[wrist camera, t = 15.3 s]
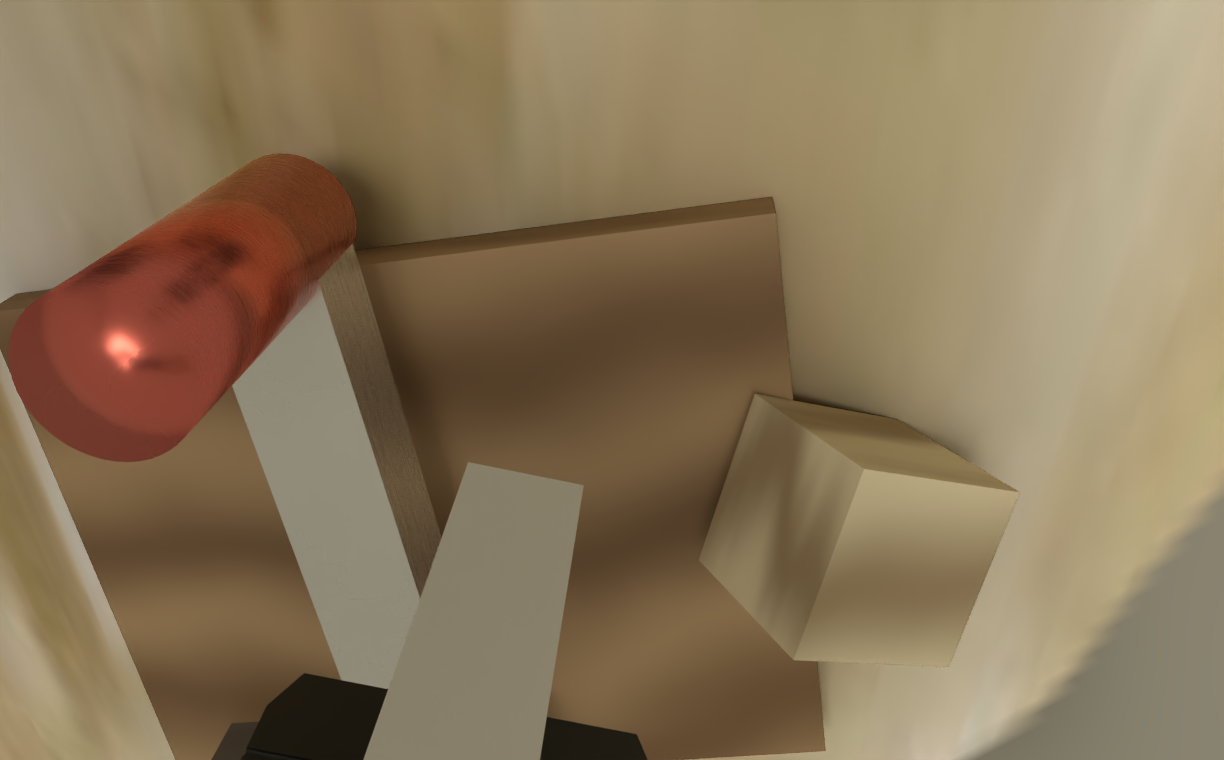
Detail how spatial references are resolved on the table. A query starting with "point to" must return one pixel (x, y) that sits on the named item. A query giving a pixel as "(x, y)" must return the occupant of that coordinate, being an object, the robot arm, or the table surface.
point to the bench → (507, 439)
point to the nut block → (854, 535)
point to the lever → (254, 383)
